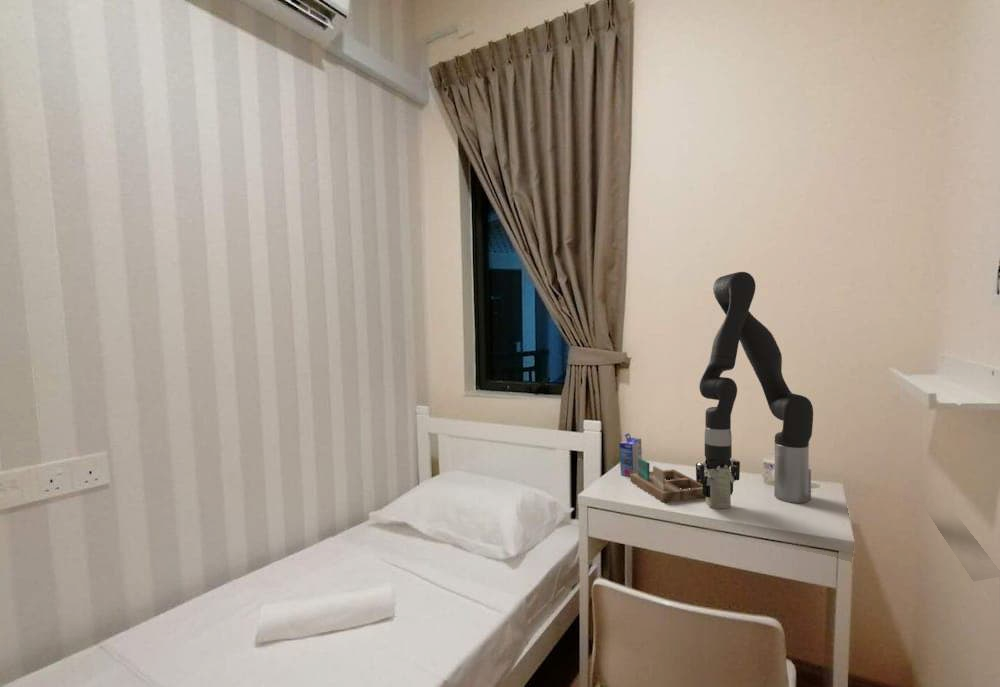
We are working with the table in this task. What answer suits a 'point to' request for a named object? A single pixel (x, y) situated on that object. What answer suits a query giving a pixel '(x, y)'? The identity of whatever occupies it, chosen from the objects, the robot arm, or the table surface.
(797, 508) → the table surface
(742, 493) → the table surface
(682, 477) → the socket block
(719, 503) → the skincare box
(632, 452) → the ink cartridge box
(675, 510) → the table surface
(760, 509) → the table surface
